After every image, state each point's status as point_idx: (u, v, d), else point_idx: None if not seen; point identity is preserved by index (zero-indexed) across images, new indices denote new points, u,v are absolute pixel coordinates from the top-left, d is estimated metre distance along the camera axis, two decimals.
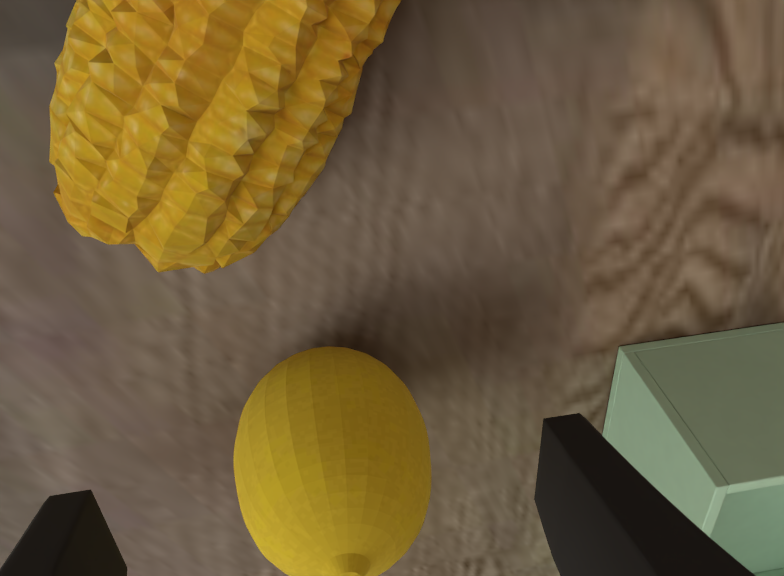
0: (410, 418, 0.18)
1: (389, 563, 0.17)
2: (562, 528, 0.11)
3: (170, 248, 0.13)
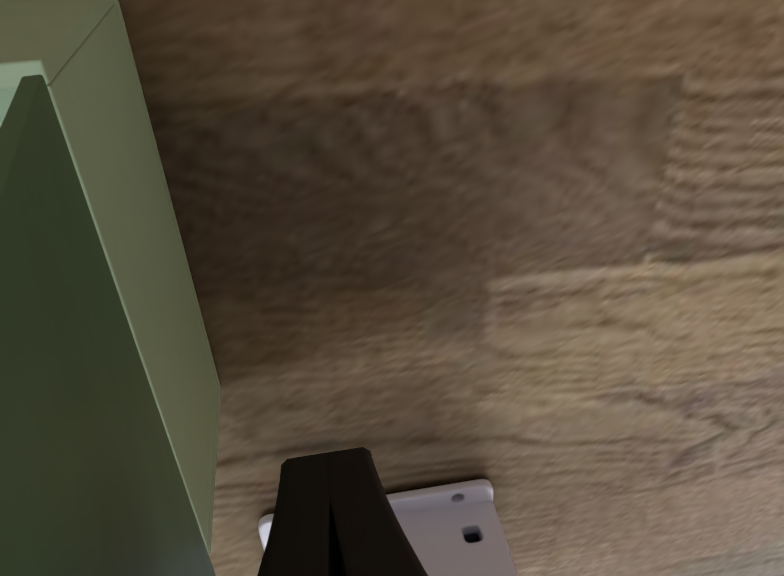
0: None
1: None
2: (340, 567, 0.10)
3: None
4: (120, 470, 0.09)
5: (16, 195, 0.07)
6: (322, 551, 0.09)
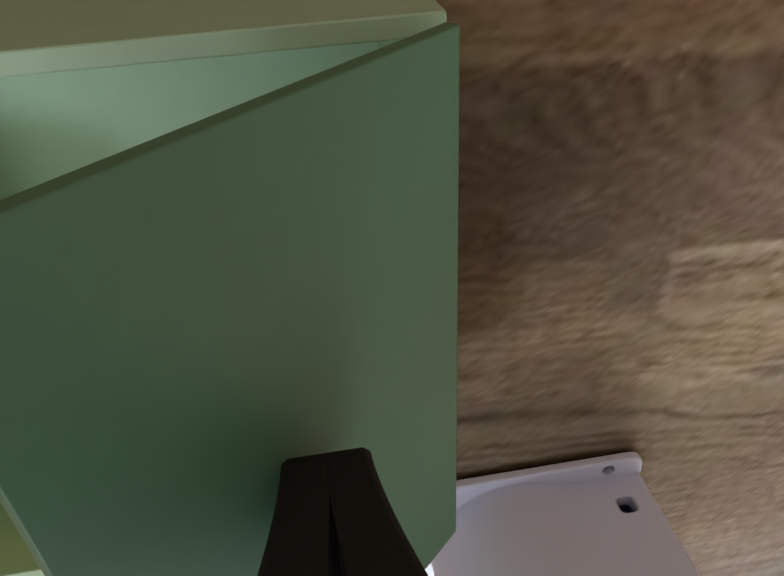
0: None
1: None
2: (340, 567, 0.10)
3: None
4: (306, 373, 0.10)
5: (290, 114, 0.08)
6: (321, 551, 0.09)
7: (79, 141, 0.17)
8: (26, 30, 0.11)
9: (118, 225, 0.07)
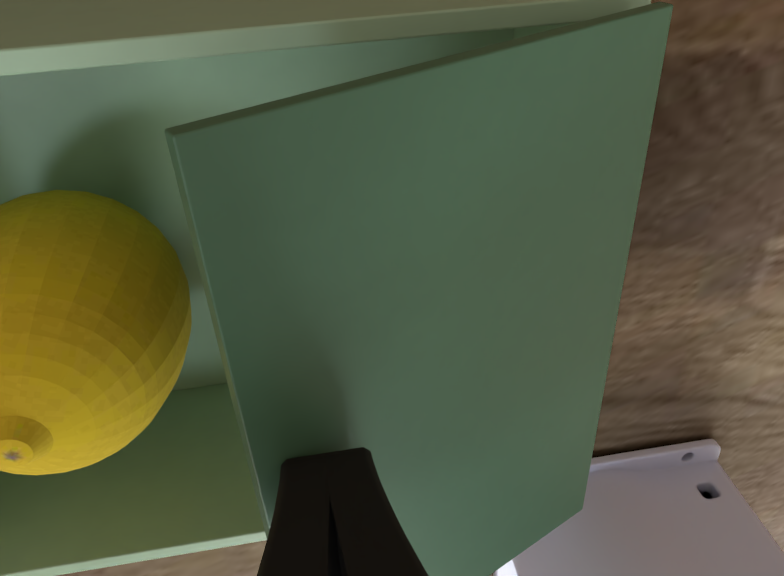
0: None
1: (34, 380, 0.12)
2: (340, 567, 0.10)
3: None
4: (468, 308, 0.11)
5: (497, 68, 0.09)
6: (321, 551, 0.09)
7: None
8: (241, 10, 0.12)
9: (342, 139, 0.08)
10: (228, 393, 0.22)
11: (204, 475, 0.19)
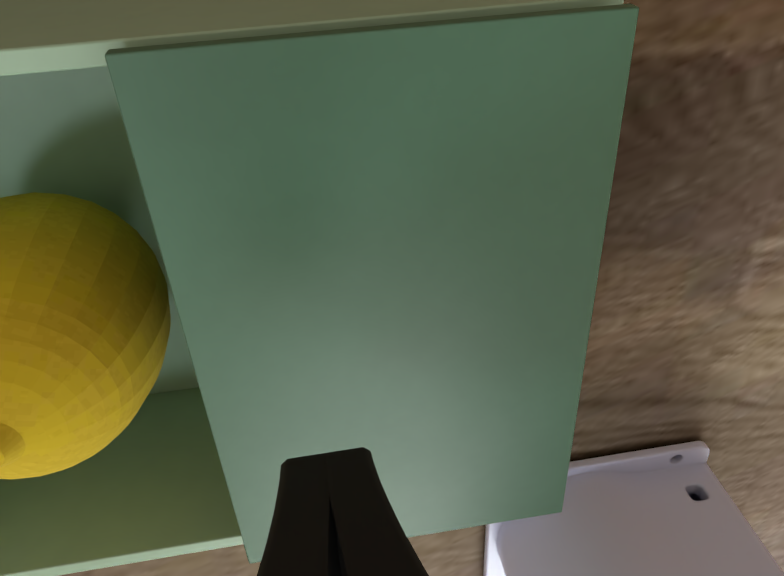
0: None
1: (4, 384, 0.12)
2: (341, 567, 0.10)
3: None
4: (394, 259, 0.13)
5: (409, 43, 0.10)
6: (321, 551, 0.09)
7: None
8: (211, 12, 0.11)
9: (249, 81, 0.10)
10: None
11: (186, 478, 0.19)
